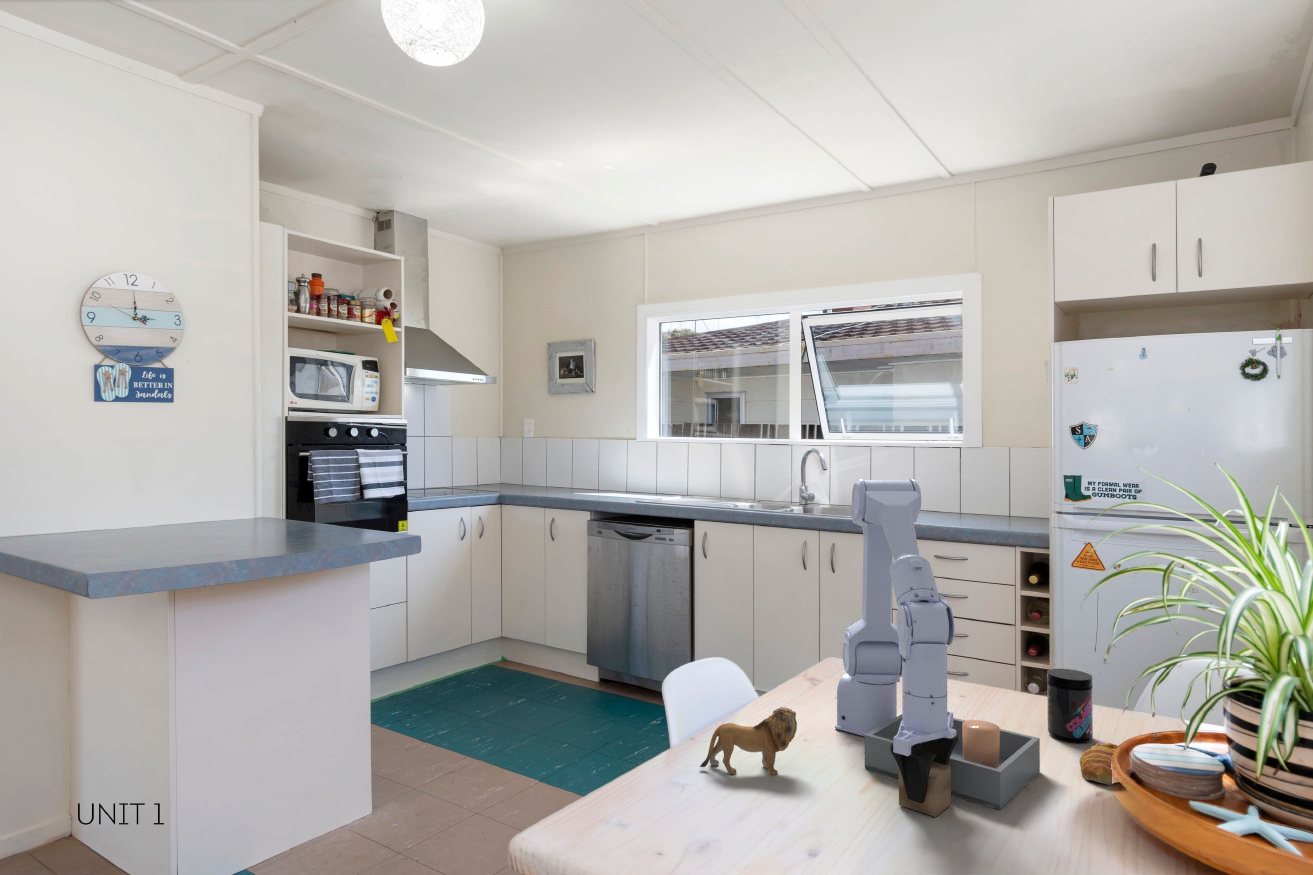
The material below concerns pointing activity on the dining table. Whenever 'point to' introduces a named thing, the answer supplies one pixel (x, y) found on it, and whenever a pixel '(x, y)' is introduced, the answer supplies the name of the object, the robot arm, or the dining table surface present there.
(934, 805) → the walnut block
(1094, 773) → the pastry
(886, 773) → the tote
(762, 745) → the lion figurine
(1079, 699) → the supplement container
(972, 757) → the terracotta cylinder
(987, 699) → the dining table surface
